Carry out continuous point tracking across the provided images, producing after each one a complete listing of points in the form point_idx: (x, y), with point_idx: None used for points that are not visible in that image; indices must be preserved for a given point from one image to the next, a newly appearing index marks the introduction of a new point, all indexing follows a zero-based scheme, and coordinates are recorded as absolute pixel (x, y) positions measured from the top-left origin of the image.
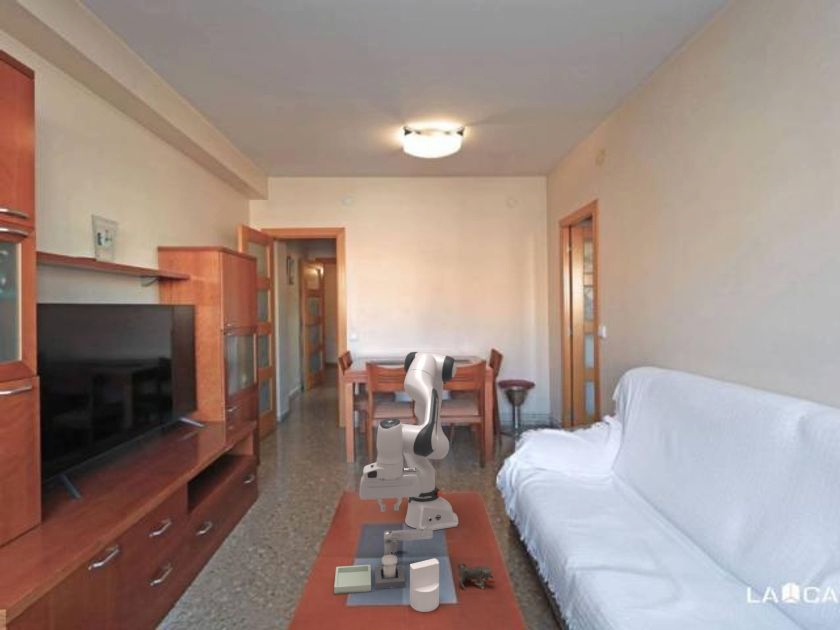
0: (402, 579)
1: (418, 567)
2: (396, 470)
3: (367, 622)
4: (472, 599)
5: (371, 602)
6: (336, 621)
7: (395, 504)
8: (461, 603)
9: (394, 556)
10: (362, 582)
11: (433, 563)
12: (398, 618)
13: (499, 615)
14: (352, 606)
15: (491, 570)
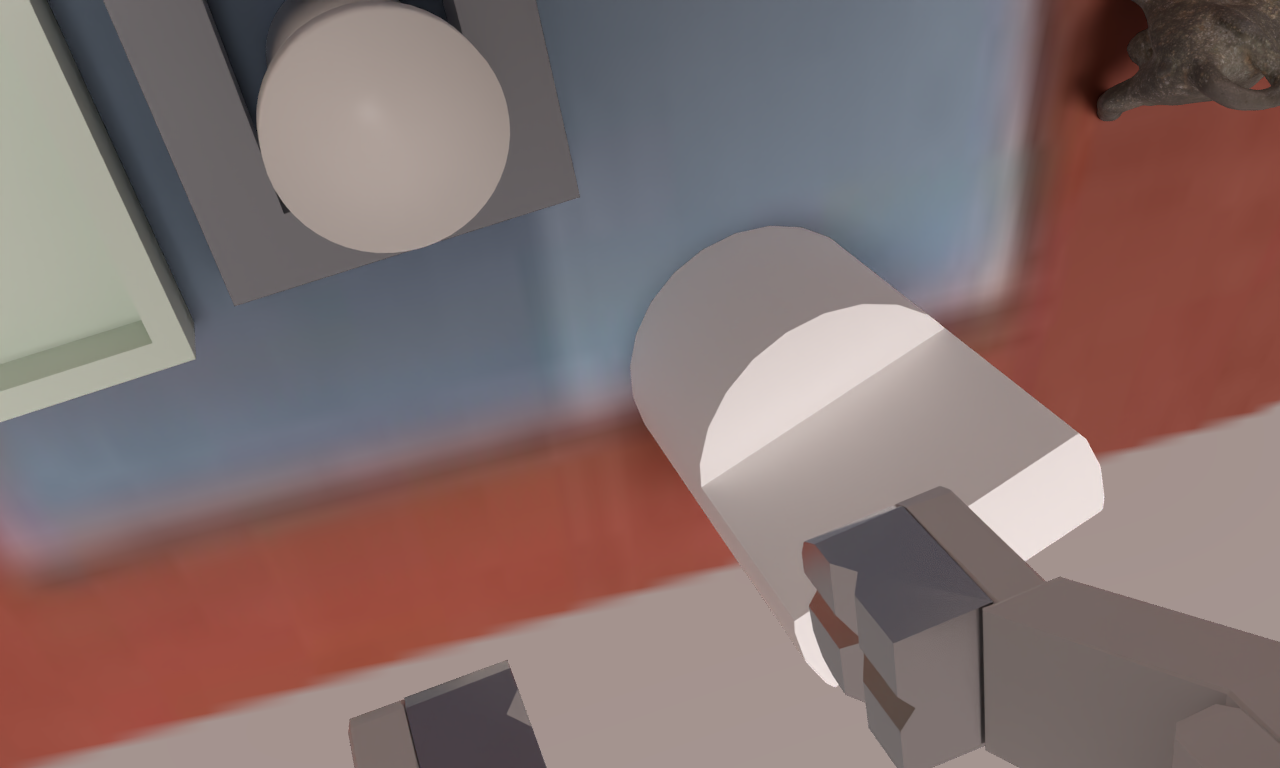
0: (544, 171)
1: None
2: None
3: (317, 685)
4: (1129, 229)
5: (263, 471)
6: (30, 758)
7: (942, 680)
8: (1039, 296)
9: (453, 58)
10: (19, 224)
11: (1046, 533)
12: (560, 578)
13: (1243, 361)
14: (87, 568)
15: None
